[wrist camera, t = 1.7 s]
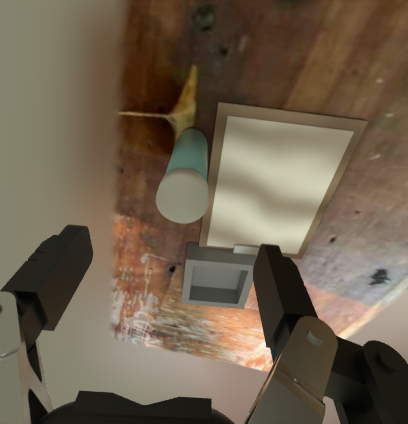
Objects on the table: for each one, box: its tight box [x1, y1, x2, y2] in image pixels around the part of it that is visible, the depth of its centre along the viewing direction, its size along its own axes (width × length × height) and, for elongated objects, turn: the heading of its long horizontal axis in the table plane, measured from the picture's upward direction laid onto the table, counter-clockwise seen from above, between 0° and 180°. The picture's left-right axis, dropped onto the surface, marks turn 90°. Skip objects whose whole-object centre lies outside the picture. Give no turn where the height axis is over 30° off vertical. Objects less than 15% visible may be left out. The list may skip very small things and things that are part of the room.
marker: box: [156, 127, 208, 223], centre depth 19 cm, size 3×3×12 cm
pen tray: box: [181, 242, 256, 309], centre depth 33 cm, size 9×9×3 cm
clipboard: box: [199, 101, 368, 259], centre depth 27 cm, size 18×14×1 cm
